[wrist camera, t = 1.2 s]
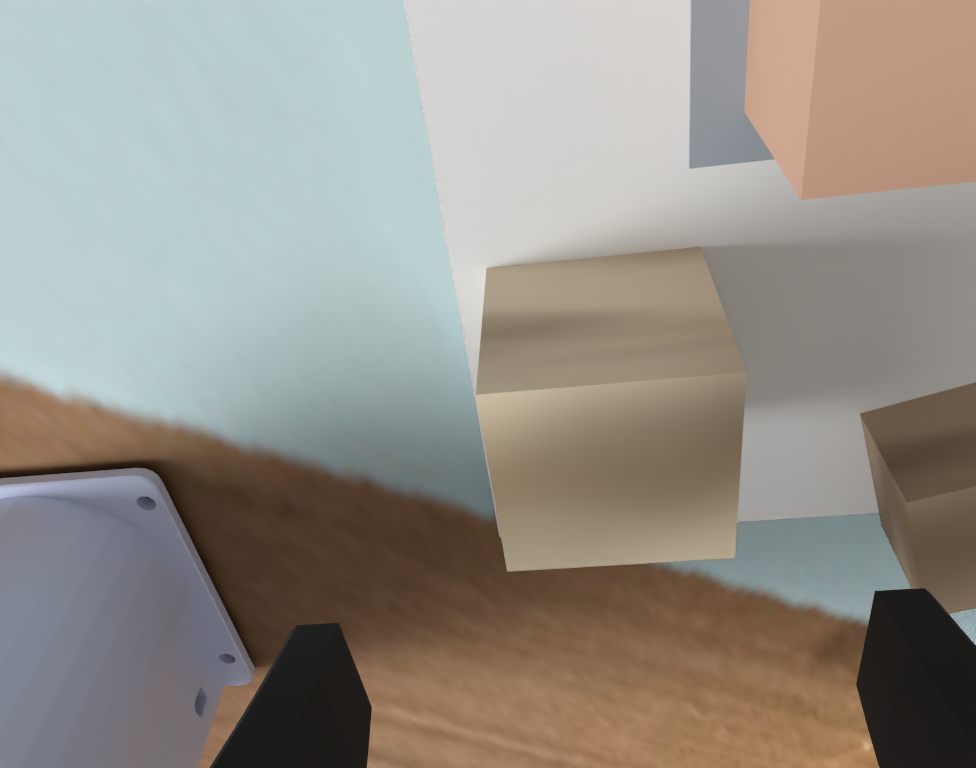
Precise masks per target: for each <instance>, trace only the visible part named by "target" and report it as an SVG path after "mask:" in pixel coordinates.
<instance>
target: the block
mask: <svg viewBox="0 0 976 768" xmlns="http://www.w3.org/2000/svg"><path fill="white" fill-rule="evenodd" d="M860 417H861V422H862V427H863V433H864V438H865V443H866V448H867V453H868V458H869V463H870V469H871V474H872V479H873V484H874V489H875V494H876V499H877V505H878V510H879V515H880V520H881V525H882V527H883V529H884V531H885V533H886V536H887V538H888V540H889V542H890V544H891V546H892V548H893V550H894V552H895V555H896V557H897V559H898V561H899V563H900V565H901V567H902V569H903V571H904V574H905V576H906V578H907V580H908V582H909V584H910V586H911V588H912V589H919V588H925V589H926V590H927V591H929V592H930V593H931V594H932V595H933V596H934V597H935V598H936V600H937V601H938V602H939V603H940V604H941V606H942V607H943V608H944V609H945V610H946V611H947V613H948V614H950V613H955V612H959V611H964V610H969V609H974V608H976V382H975V383H971V384H967V385H964V386H960V387H956V388H953V389H949V390H945V391H941V392H938V393H934V394H930V395H927V396H923V397H919V398H915V399H912V400H908V401H904V402H901V403H897V404H893V405H889V406H886V407H882V408H878V409H875V410H871V411H867V412H863V413H860Z"/></svg>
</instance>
